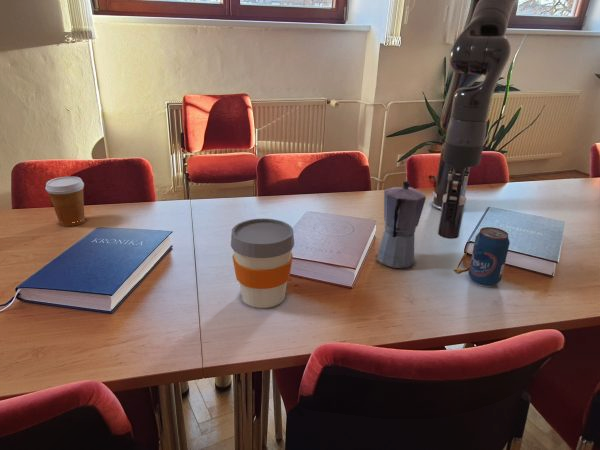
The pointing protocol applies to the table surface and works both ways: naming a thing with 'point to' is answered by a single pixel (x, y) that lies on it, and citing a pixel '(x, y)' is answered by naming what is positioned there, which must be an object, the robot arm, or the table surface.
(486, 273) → the soda can
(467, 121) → the robot arm
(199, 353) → the table surface
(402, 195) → the moka pot
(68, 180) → the disposable coffee cup
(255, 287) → the reusable coffee cup
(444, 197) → the pepper shaker
